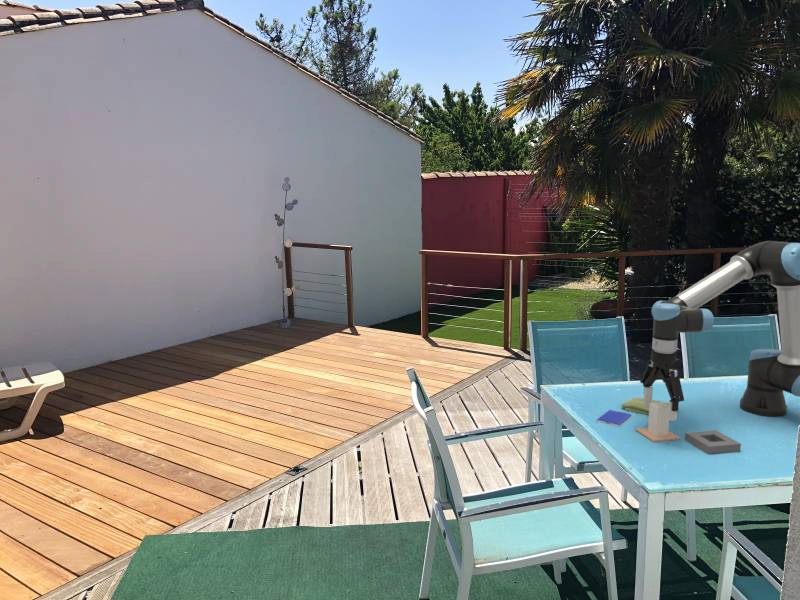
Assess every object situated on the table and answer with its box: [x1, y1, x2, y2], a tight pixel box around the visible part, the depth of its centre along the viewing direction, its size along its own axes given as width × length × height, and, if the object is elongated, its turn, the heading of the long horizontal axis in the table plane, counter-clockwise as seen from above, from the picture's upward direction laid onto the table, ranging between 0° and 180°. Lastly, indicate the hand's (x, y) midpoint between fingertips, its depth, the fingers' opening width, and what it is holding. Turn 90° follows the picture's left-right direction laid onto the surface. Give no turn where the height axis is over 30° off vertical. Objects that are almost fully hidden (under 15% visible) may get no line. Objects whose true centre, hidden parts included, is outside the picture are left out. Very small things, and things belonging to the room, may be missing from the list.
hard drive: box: [596, 409, 632, 428], centre depth 215 cm, size 2×8×12 cm
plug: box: [647, 401, 670, 436], centre depth 199 cm, size 4×4×10 cm
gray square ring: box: [684, 429, 742, 455], centre depth 192 cm, size 11×11×2 cm
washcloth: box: [620, 397, 680, 416], centre depth 223 cm, size 13×18×3 cm
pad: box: [635, 427, 681, 443], centre depth 200 cm, size 10×10×1 cm
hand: (659, 412), depth 199 cm, fingers open, 13 cm apart
